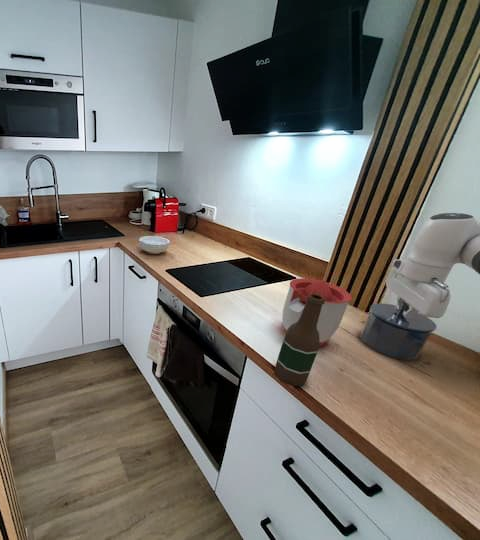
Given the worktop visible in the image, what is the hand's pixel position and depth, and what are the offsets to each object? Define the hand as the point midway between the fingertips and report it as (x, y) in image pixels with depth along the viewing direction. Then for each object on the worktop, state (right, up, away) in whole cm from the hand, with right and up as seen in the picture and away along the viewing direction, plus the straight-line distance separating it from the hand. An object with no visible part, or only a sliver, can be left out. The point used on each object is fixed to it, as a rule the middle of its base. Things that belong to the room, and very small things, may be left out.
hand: (402, 314), depth 84 cm
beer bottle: (-39, -15, -9) cm, 43 cm away
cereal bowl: (-65, +23, +78) cm, 104 cm away
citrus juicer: (-25, -8, +7) cm, 28 cm away
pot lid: (0, -1, 0) cm, 1 cm away
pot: (0, -10, +4) cm, 11 cm away
